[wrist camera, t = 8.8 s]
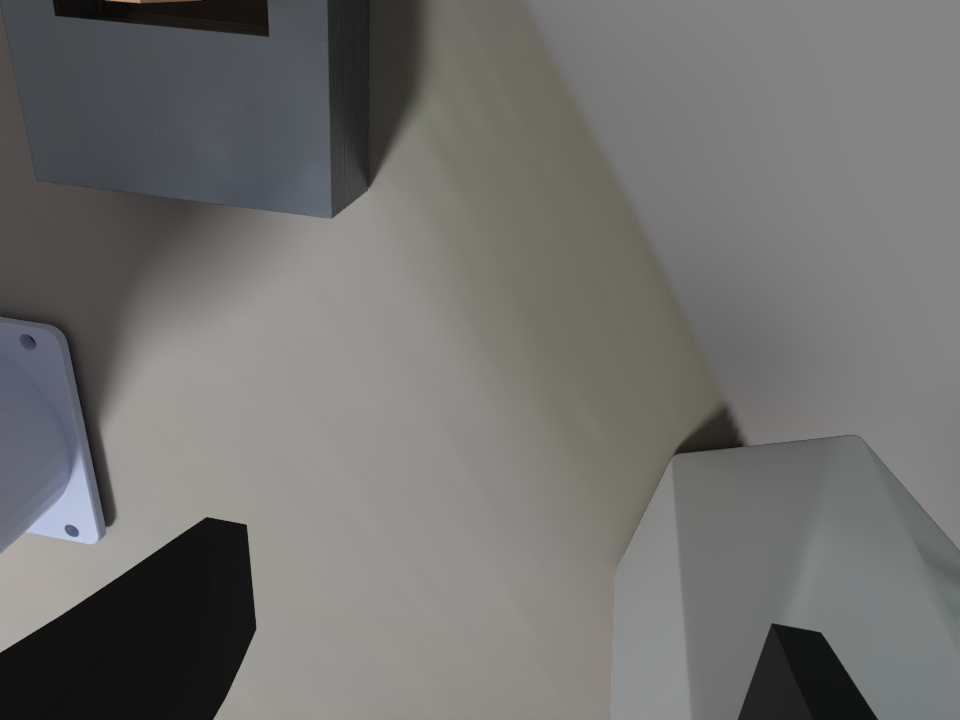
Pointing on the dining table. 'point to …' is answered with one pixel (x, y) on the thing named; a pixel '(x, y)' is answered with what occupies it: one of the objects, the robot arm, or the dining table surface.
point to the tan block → (151, 1)
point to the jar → (784, 582)
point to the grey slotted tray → (198, 101)
